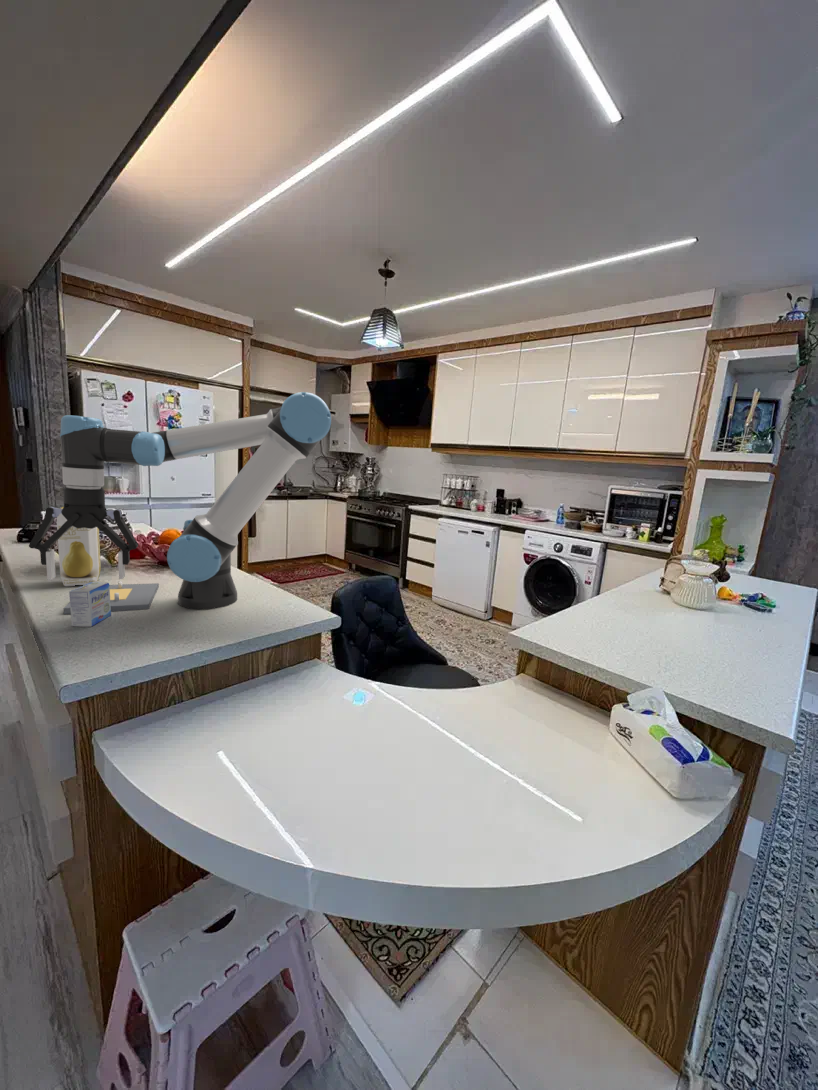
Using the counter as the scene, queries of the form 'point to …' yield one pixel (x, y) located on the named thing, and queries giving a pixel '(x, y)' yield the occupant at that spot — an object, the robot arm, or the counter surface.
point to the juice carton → (78, 554)
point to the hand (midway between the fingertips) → (87, 578)
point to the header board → (128, 596)
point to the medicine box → (90, 604)
